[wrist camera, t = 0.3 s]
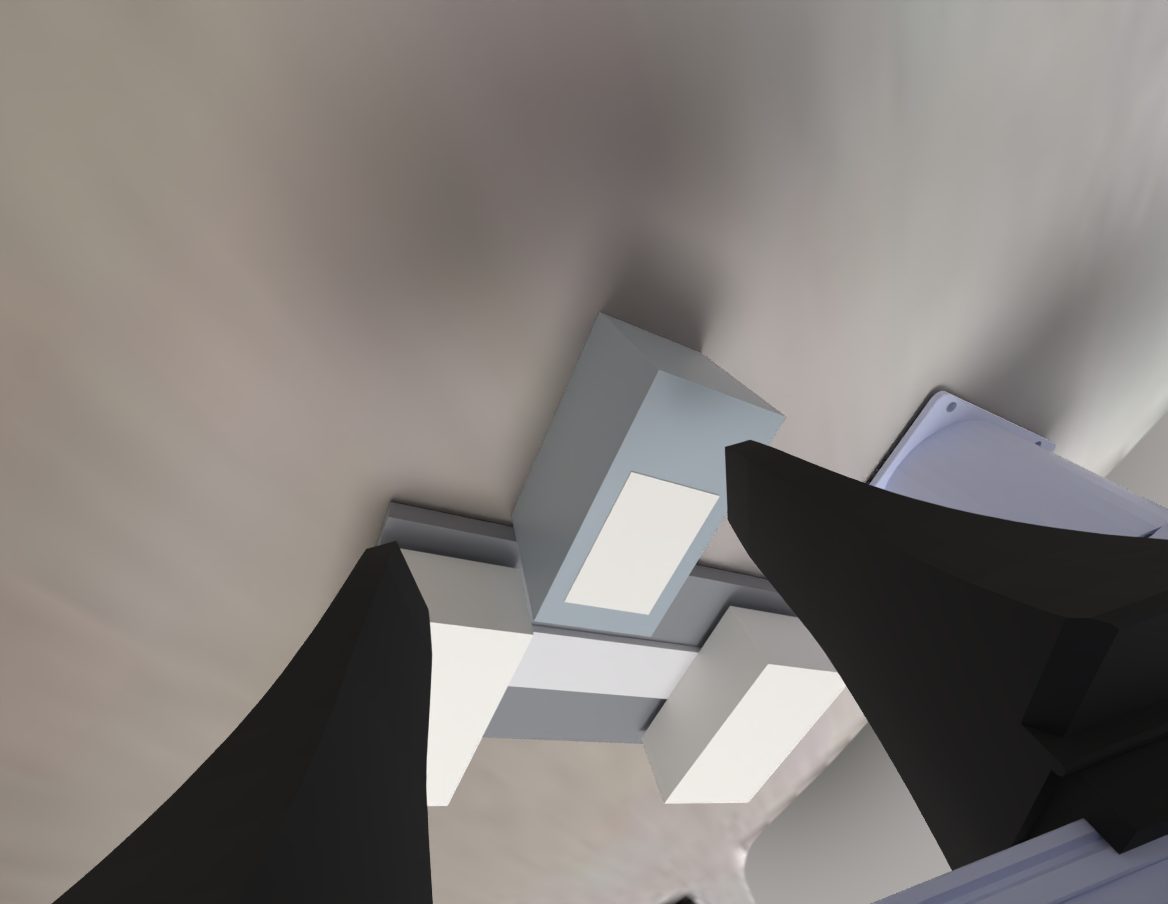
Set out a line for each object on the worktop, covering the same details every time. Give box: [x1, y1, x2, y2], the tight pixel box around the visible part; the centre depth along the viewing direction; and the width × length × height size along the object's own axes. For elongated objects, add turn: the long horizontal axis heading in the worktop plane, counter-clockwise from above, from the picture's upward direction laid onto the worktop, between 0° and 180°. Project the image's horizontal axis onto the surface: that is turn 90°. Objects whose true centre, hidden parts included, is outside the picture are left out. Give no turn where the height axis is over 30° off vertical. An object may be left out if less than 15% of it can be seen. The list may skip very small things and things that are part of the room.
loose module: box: [511, 312, 786, 637], centre depth 19 cm, size 4×9×6 cm, turn 155°
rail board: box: [376, 502, 846, 806], centre depth 25 cm, size 22×12×5 cm, turn 65°
